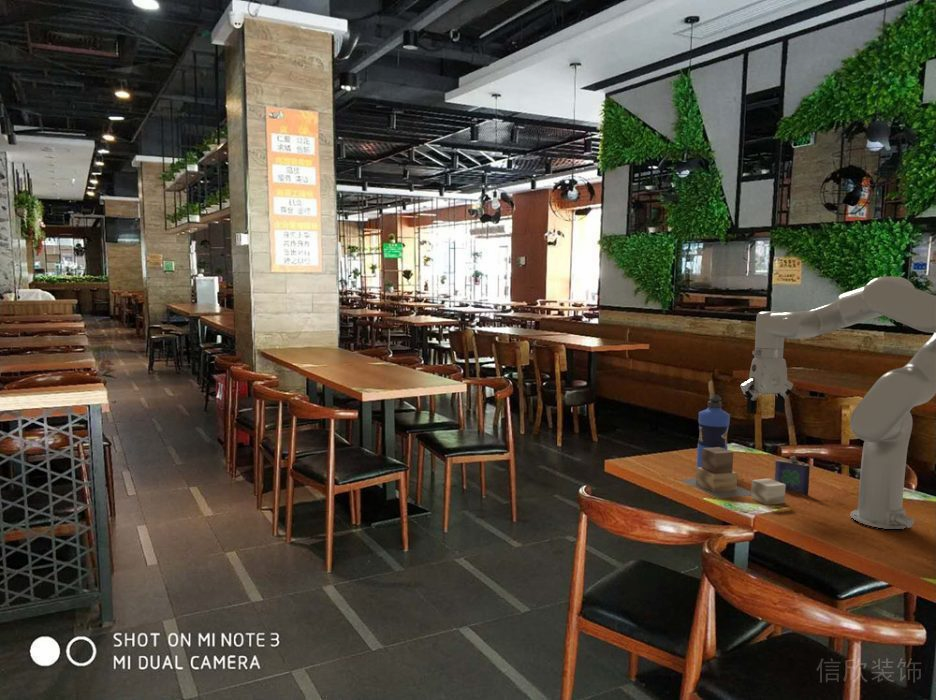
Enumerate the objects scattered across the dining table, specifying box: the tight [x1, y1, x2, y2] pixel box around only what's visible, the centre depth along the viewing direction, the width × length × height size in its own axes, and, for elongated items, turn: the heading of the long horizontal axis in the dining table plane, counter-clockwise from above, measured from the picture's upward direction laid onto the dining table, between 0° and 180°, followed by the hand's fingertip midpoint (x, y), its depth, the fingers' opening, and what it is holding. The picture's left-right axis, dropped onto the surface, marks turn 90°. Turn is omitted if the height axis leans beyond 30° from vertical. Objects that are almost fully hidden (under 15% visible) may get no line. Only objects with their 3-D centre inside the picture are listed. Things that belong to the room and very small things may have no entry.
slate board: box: [680, 477, 751, 499], centre depth 196 cm, size 18×13×1 cm
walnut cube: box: [702, 447, 734, 474], centre depth 195 cm, size 6×6×6 cm
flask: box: [774, 455, 811, 496], centre depth 194 cm, size 9×3×11 cm, turn 50°
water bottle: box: [696, 394, 731, 469], centre depth 213 cm, size 9×9×25 cm
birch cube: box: [750, 477, 786, 506], centre depth 184 cm, size 6×6×6 cm
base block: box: [695, 467, 738, 492], centre depth 195 cm, size 8×8×5 cm
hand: (765, 412), depth 194 cm, fingers open, 9 cm apart
